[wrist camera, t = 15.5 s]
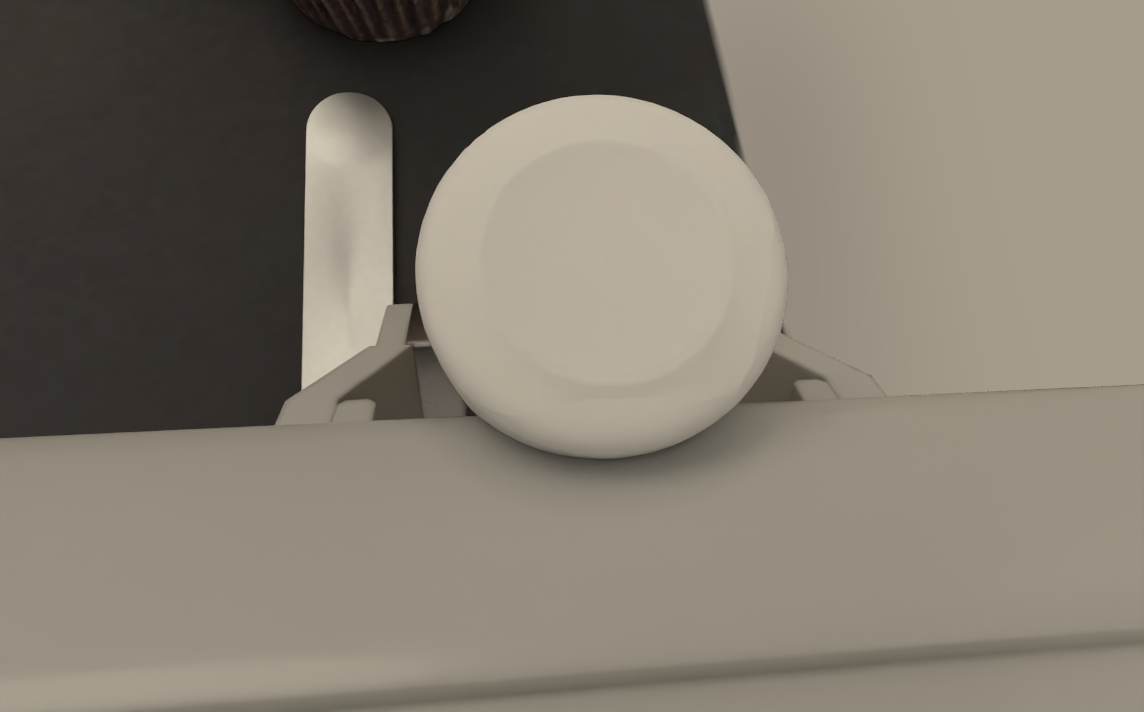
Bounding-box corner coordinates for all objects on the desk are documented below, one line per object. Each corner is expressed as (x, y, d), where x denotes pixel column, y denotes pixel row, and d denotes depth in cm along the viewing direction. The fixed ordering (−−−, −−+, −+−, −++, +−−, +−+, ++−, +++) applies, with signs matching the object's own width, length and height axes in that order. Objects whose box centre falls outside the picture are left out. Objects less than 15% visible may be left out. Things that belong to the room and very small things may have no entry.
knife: (309, 96, 24) (294, 69, 23) (393, 96, 25) (385, 69, 23) (296, 797, 20) (278, 823, 19) (398, 787, 20) (388, 813, 19)
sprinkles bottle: (532, 302, 21) (555, 11, 8) (651, 381, 21) (869, 214, 8) (448, 421, 21) (324, 305, 7) (572, 505, 20) (671, 541, 7)
